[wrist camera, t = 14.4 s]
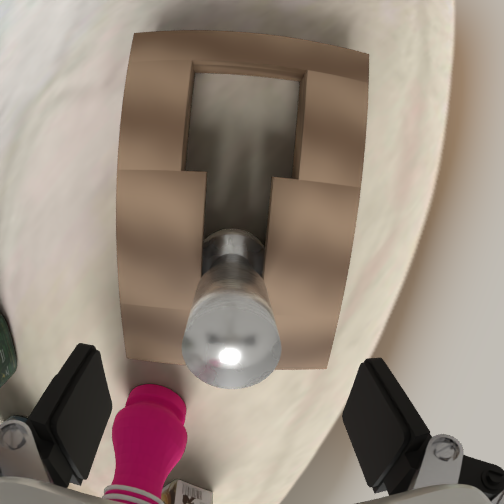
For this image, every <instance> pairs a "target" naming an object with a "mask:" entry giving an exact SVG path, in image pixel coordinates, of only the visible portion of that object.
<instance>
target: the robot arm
mask: <svg viewBox="0 0 504 504" xmlns="http://www.w3.org/2000/svg"><path fill="white" fill-rule="evenodd" d="M111 411H112V401H111V398H110V394H109V390H108V386H107V382H106V378H105V373H104V369H103V364H102V360H101V355H100V352H99V351H98V350H96V348H95V346H93V345H88V344H82V343H79V344H78V345H77V346H76V348H75V349H74V351H73V352H72V353H71V355H70V356H69V358H68V359H67V361H66V362H65V364H64V365H63V367H62V368H61V370H60V371H59V373H58V374H57V375H56V376H55V377H54V378H53V379H52V381H51V382H50V384H49V386H48V387H47V389H46V390H45V392H44V393H43V395H42V397H41V398H40V400H39V401H38V403H37V405H36V406H35V408H34V409H33V411H32V413H31V414H30V416H29V418H28V419H27V421H26V423H24V422H22V421H19V420H9V421H6V422H3V423H2V424H1V425H0V504H126V503H121V502H117V501H112V500H108V499H104V498H100V497H96V496H92V495H88V494H85V493H81V492H78V491H74V490H71V489H68V488H67V487H68V486H69V483H73V484H76V485H80V486H81V484H82V481H83V479H84V480H86V479H87V478H88V475H89V472H90V469H91V467H92V464H93V461H94V458H95V455H96V452H97V449H98V446H99V444H100V441H101V438H102V435H103V433H104V430H105V427H106V425H107V422H108V419H109V417H110V414H111ZM342 417H343V422H344V425H345V427H346V430H347V432H348V435H349V438H350V440H351V442H352V445H353V448H354V451H355V453H356V456H357V458H358V461H359V463H360V466H361V469H362V471H363V474H364V477H365V479H366V482H367V485H368V486H369V487H372V488H373V491H374V493H379V492H382V491H386V490H387V491H388V494H389V496H387V497H383V498H379V499H374V500H370V501H365V502H360V503H356V504H504V470H503V469H501V468H500V467H499V466H497V465H494V464H490V463H487V462H484V461H481V460H477V459H474V458H471V457H468V456H465V455H463V447H462V445H461V443H460V442H459V441H458V440H457V439H456V438H454V437H452V436H450V435H446V434H440V435H436V436H434V437H432V436H431V435H430V431H429V429H428V428H427V426H426V425H425V423H424V421H423V420H422V418H421V417H420V415H419V414H418V412H417V411H416V409H415V407H414V406H413V404H412V403H411V401H410V400H409V398H408V397H407V395H406V393H405V392H404V390H403V389H402V387H401V386H400V384H399V383H398V382H397V380H396V378H395V377H394V375H393V374H392V372H391V371H390V369H389V368H388V367H387V365H386V363H385V362H384V361H383V359H382V358H369V359H366V360H365V361H364V363H361V364H360V367H359V370H358V373H357V375H356V378H355V381H354V384H353V387H352V390H351V392H350V395H349V398H348V400H347V403H346V406H345V408H344V411H343V415H342Z"/></svg>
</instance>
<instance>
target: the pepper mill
mask: <svg viewBox="0 0 504 504" xmlns="http://www.w3.org/2000/svg"><path fill="white" fill-rule="evenodd" d="M185 416H186V406H185V403H184V402H183V400H182V399H181V397H180V396H179V395H178V394H176V393H175V392H173V391H172V390H170V389H168V388H166V387H163V386H160V385H155V384H144V385H140V386H137V387H136V388H134V389H133V390H132V391H131V392H130V394H129V397H128V399H127V402H126V406H125V408H123V409H122V410H120V411H119V412H118V414H117V415H116V417H115V420H114V424H113V427H112V441H113V446H114V451H115V458H116V469H115V475H114V479H113V482H112V484H111V485H110V486H107V487H106V488H105V489H104V496H103V497H102V498H104V499H108V500H112V501H117V502H121V503H126V504H164V503H163V501H162V500H161V493H162V489H163V485H164V482H165V480H166V478H167V476H168V474H169V473H170V472H171V470H172V469H173V468H174V467H175V465H176V464H177V463H178V462H179V460H180V459H181V457H182V455H183V453H184V451H185V447H186V443H187V432H186V429H185V427H184V426H183V425H184V422H185Z"/></svg>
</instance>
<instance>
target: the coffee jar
mask: <svg viewBox="0 0 504 504" xmlns="http://www.w3.org/2000/svg"><path fill="white" fill-rule="evenodd" d="M16 368H17V360H16V355H15V350H14V346H13V342H12V338H11V335H10V332H9V328H8V326H7V323H6V321H5V319H4V317H3V316H2V315H1V314H0V387H1V386H2V385H3V384H4V383H5V382H6V381H7V380H8V379H9V378H10V377H11V376H12V375H13V373H14V372H15V371H16Z"/></svg>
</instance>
